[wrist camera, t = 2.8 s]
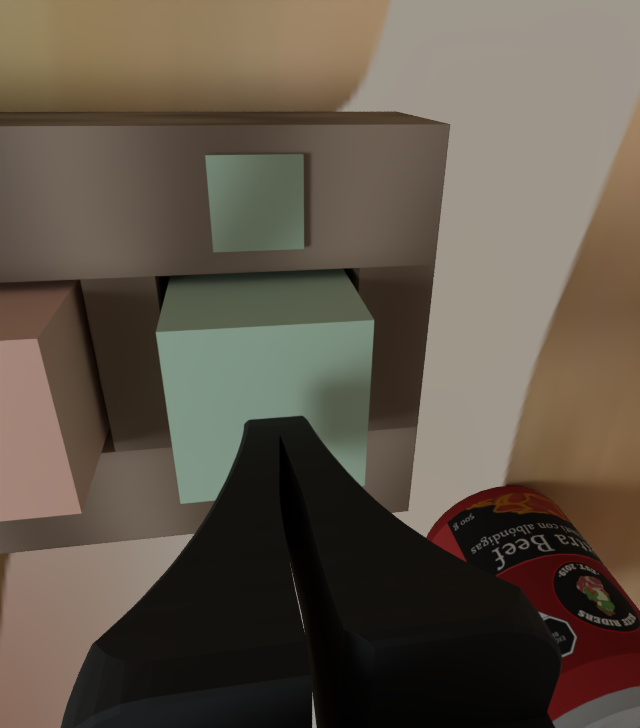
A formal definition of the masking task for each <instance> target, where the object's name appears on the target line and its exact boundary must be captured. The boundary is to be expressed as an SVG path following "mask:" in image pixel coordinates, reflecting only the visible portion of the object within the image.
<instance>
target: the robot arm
mask: <svg viewBox="0 0 640 728" xmlns="http://www.w3.org/2000/svg"><path fill="white" fill-rule="evenodd" d="M291 569H292V571H291ZM292 573H293V576H292ZM293 578H294V581H293ZM294 582H295V586H294ZM295 587H296V591H297V596H298V600H299V605H300V609H301V613H302V619H303V623H302V619H301V614H300V610H299V605H298V600H297V596H296V592H295ZM303 624H304V628H303ZM304 630H305V632H304ZM562 660H563V658H562V655H561V651H560V648H559V645H558V643H557V642H556V640H555V638H554V637H553V635H552V633H551V631H550V630H549V628H548V626H547V625H546V623H545V621H544V620H543V618H542V617H541V615H540V614H539V612H538V611H537V610H536V608H535V607H534V606H533V604H532V603H531V602H530V600H529V599H528V598H527V596H526V595H525V594H524V592H523V591H522V589H521V588H520V587H518V586H516V585H514V584H512V583H509V582H507V581H505V580H503V579H501V578H499V577H497V576H494V575H492V574H490V573H488V572H486V571H484V570H481V569H479V568H477V567H475V566H473V565H471V564H469V563H467V562H466V561H464V560H462V559H460V558H458V557H457V556H455V555H453V554H451V553H449V552H448V551H446V550H444V549H442V548H441V547H439V546H438V545H436V544H434V543H433V542H431V541H430V540H428V539H427V538H425V537H423V536H422V535H421V534H419V533H417V532H416V531H415V530H413V529H412V528H410V527H409V526H407V525H406V524H404V523H403V522H402V521H401V520H399V519H398V518H397V517H395V516H394V515H393V514H392V513H391V512H389V511H388V510H387V509H386V508H384V507H383V506H382V505H381V504H380V503H379V502H378V501H376V500H375V499H374V498H373V497H372V496H371V495H370V494H369V493H368V492H367V491H366V490H365V489H364V488H363V487H362V486H361V485H360V484H359V483H358V482H357V481H356V480H355V479H354V478H353V477H352V476H351V475H350V474H349V473H348V472H347V471H346V470H345V468H344V467H343V466H342V465H341V464H340V463H339V461H338V460H337V459H336V458H335V457H334V456H333V454H332V453H331V452H330V451H329V450H328V448H327V447H326V446H325V444H324V443H323V442H322V440H321V439H320V438H319V436H318V435H317V434H316V432H315V431H314V429H313V428H312V426H311V425H310V423H309V421H308V420H307V419H306V418H305V417H304V416H290V417H277V418H264V419H251V420H248V421H247V422H246V423H245V424H244V431H243V436H242V440H241V443H240V446H239V449H238V452H237V455H236V458H235V460H234V462H233V465H232V467H231V470H230V472H229V474H228V477H227V479H226V481H225V483H224V485H223V487H222V489H221V491H220V492H219V494H218V496H217V498H216V500H215V502H214V504H213V506H212V507H211V509H210V511H209V512H208V514H207V516H206V517H205V519H204V521H203V522H202V524H201V525H200V527H199V528H198V530H197V531H196V533H195V534H194V536H193V537H192V539H191V540H190V541H189V543H188V544H187V545H186V547H185V548H184V549H183V551H182V552H181V554H180V555H179V556H178V557H177V559H176V560H175V561H174V562H173V564H172V565H171V566H170V567H169V568H168V570H167V571H166V572H165V573H164V574H163V575H162V576H161V577H160V579H159V580H158V581H157V582H156V583H155V584H154V585H153V586H152V587H151V588H150V590H149V591H148V592H147V593H146V594H145V595H144V596H143V597H142V598H141V600H139V601H138V602H137V604H135V605H134V607H132V608H131V610H129V611H128V612H127V613H126V614H125V615H124V616H123V617H122V618H121V619H120V620H118V621H117V622H116V623H115V624H114V625H113V626H112V627H111V628H110V629H109V630H108V631H107V632H106V633H104V634H103V635H102V636H101V637H100V638H99V639H98V640H97V641H95V642H94V643H93V644H92V646H91V648H90V650H89V652H88V654H87V657H86V659H85V661H84V663H83V665H82V668H81V670H80V672H79V674H78V677H77V679H76V682H75V685H74V687H73V690H72V692H71V695H70V698H69V701H68V703H67V706H66V710H65V713H64V717H63V721H62V725H61V728H312V692H313V700H314V709H315V717H316V725H317V728H555V726H554V724H553V722H552V720H551V718H550V716H549V714H548V712H547V711H548V708H549V705H550V702H551V699H552V696H553V693H554V690H555V687H556V685H557V682H558V679H559V676H560V673H561V666H562Z"/></svg>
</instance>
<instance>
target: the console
mask: <svg viewBox="0 0 640 728" xmlns="http://www.w3.org/2000/svg"><path fill="white" fill-rule="evenodd" d="M449 130H450V124H447V123H442V122H438V121H434V120H430V119H425V118H421V117H417V116H413V115H408V114H404V113H400V112H0V283H3V282H27V281H51V280H75V279H79V281H80V285H81V290H82V295H83V300H84V305H85V310H86V315H87V319H88V324H89V329H90V334H91V339H92V344H93V349H94V354H95V358H96V363H97V368H98V373H99V378H100V383H101V388H102V393H103V397H104V402H105V407H106V412H107V417H108V422H109V430H108V433H107V436H106V439H105V442H104V445H103V449H102V452H101V455H100V458H99V461H98V464H97V467H96V470H95V474H94V477H93V480H92V483H91V486H90V489H89V492H88V495H87V499H86V502H85V505H84V508H83V511H82V514H72V515H61V516H51V517H41V518H31V519H20V520H10V521H0V554H4V553H13V552H23V551H32V550H42V549H51V548H60V547H69V546H80V545H89V544H98V543H108V542H118V541H127V540H137V539H146V538H155V537H165V536H174V535H184V534H194V533H196V531H197V530H198V528H199V527H200V525H201V524H202V522H203V521H204V519H205V517H206V516H207V514H208V512H209V511H210V509H211V507H212V506H213V504H214V502H215V501H205V502H195V503H184V504H180V497H179V490H178V483H177V476H176V469H175V462H174V455H173V448H172V441H171V435H170V428H169V421H168V414H167V407H166V400H165V393H164V386H163V379H162V372H161V365H160V358H159V351H158V344H157V337H156V329H157V325H158V322H159V318H160V314H161V310H162V306H163V302H164V298H165V294H166V291H167V287H168V283H169V279H170V276H172V275H196V274H220V273H244V272H269V271H293V270H317V269H341V268H343V269H344V271H345V273H346V274H347V276H348V278H349V279H350V281H351V282H352V284H353V286H354V287H355V289H356V291H357V292H358V294H359V296H360V297H361V299H362V301H363V302H364V304H365V306H366V307H367V309H368V311H369V312H370V314H371V315H372V317H373V319H374V335H373V352H372V369H371V386H370V403H369V420H368V437H367V454H366V471H365V486H362V487H363V488H364V489H365V490H366V491H367V492H368V493H369V494H370V495H371V496H372V497H373V498H374V499H375V500H376V501H378V502H379V503H380V504H381V505H382V506H383V507H384V508H386V509H387V510H388V511H389V512H391V513H394V512H403V511H408V507H409V498H410V489H411V479H412V471H413V460H414V452H415V443H416V434H417V424H418V414H419V406H420V397H421V387H422V378H423V369H424V360H425V351H426V341H427V333H428V323H429V314H430V305H431V296H432V286H433V277H434V268H435V259H436V250H437V240H438V231H439V222H440V213H441V202H442V194H443V185H444V176H445V167H446V157H447V148H448V139H449Z"/></svg>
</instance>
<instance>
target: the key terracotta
mask: <svg viewBox="0 0 640 728" xmlns="http://www.w3.org/2000/svg"><path fill="white" fill-rule="evenodd" d="M108 430H109V422H108V417H107V412H106V407H105V402H104V397H103V393H102V388H101V383H100V378H99V373H98V368H97V363H96V358H95V354H94V349H93V344H92V339H91V334H90V329H89V324H88V319H87V315H86V310H85V305H84V300H83V295H82V290H81V285H80V281H79V279H75V280H51V281H27V282H3V283H0V521H10V520H20V519H31V518H41V517H51V516H61V515H72V514H82V511H83V508H84V505H85V502H86V499H87V495H88V492H89V489H90V486H91V483H92V480H93V477H94V474H95V470H96V467H97V464H98V461H99V458H100V455H101V452H102V449H103V445H104V442H105V439H106V436H107V433H108Z"/></svg>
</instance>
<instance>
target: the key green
mask: <svg viewBox="0 0 640 728" xmlns="http://www.w3.org/2000/svg"><path fill="white" fill-rule="evenodd" d="M373 335H374V319H373V317H372V315H371V314H370V312H369V311H368V309H367V307H366V306H365V304H364V302H363V301H362V299H361V297H360V296H359V294H358V292H357V291H356V289H355V287H354V286H353V284H352V282H351V281H350V279H349V278H348V276H347V274H346V273H345V271H344V269H343V268H341V269H317V270H293V271H269V272H244V273H220V274H196V275H172V276H170V279H169V283H168V287H167V291H166V294H165V298H164V302H163V306H162V310H161V314H160V318H159V322H158V325H157V329H156V337H157V344H158V351H159V358H160V365H161V372H162V379H163V386H164V393H165V400H166V407H167V414H168V421H169V428H170V435H171V441H172V448H173V455H174V462H175V469H176V476H177V483H178V490H179V497H180V504H184V503H195V502H205V501H215V500H216V498H217V496H218V494H219V492H220V491H221V489H222V487H223V485H224V483H225V481H226V479H227V477H228V474H229V472H230V470H231V467H232V465H233V462H234V460H235V458H236V455H237V452H238V449H239V446H240V443H241V440H242V436H243V431H244V424H245V423H246V422H247V421H248V420H251V419H264V418H277V417H290V416H304V417H305V418H306V419H307V420H308V421H309V423H310V425H311V426H312V428H313V429H314V431H315V432H316V434H317V435H318V436H319V438H320V439H321V440H322V442H323V443H324V444H325V446H326V447H327V448H328V450H329V451H330V452H331V453H332V454H333V456H334V457H335V458H336V459H337V460H338V461H339V463H340V464H341V465H342V466H343V467H344V468H345V470H346V471H347V472H348V473H349V474H350V475H351V476H352V477H353V478H354V479H355V480H356V481H357V482H358V483H359V484H360V485H361V486H365V471H366V454H367V437H368V420H369V403H370V386H371V369H372V352H373Z"/></svg>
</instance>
